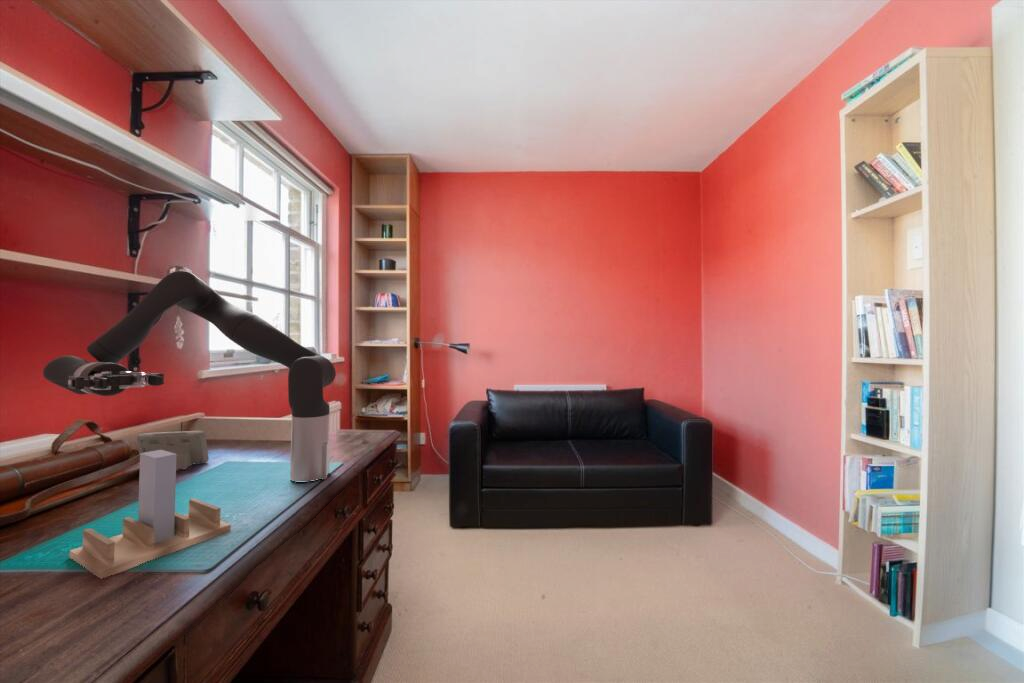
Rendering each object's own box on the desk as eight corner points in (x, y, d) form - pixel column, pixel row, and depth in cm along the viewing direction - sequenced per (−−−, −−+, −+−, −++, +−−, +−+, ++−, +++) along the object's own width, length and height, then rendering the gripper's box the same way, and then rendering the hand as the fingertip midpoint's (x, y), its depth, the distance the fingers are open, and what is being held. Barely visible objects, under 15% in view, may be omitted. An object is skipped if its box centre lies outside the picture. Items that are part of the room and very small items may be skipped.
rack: (195, 516, 81) (196, 495, 81) (230, 530, 75) (231, 507, 75) (69, 557, 65) (70, 530, 65) (100, 579, 59) (101, 550, 59)
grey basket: (212, 462, 118) (213, 427, 118) (192, 471, 109) (193, 434, 110) (153, 463, 116) (154, 428, 116) (128, 473, 107) (129, 435, 107)
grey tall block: (158, 529, 73) (160, 449, 73) (174, 536, 70) (176, 453, 70) (137, 535, 70) (140, 453, 70) (152, 544, 67) (155, 458, 68)
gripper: (56, 363, 83) (85, 365, 75) (142, 361, 95) (175, 363, 88) (54, 398, 83) (84, 404, 75) (141, 391, 95) (174, 396, 88)
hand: (133, 382), depth 82 cm, fingers open, 8 cm apart
